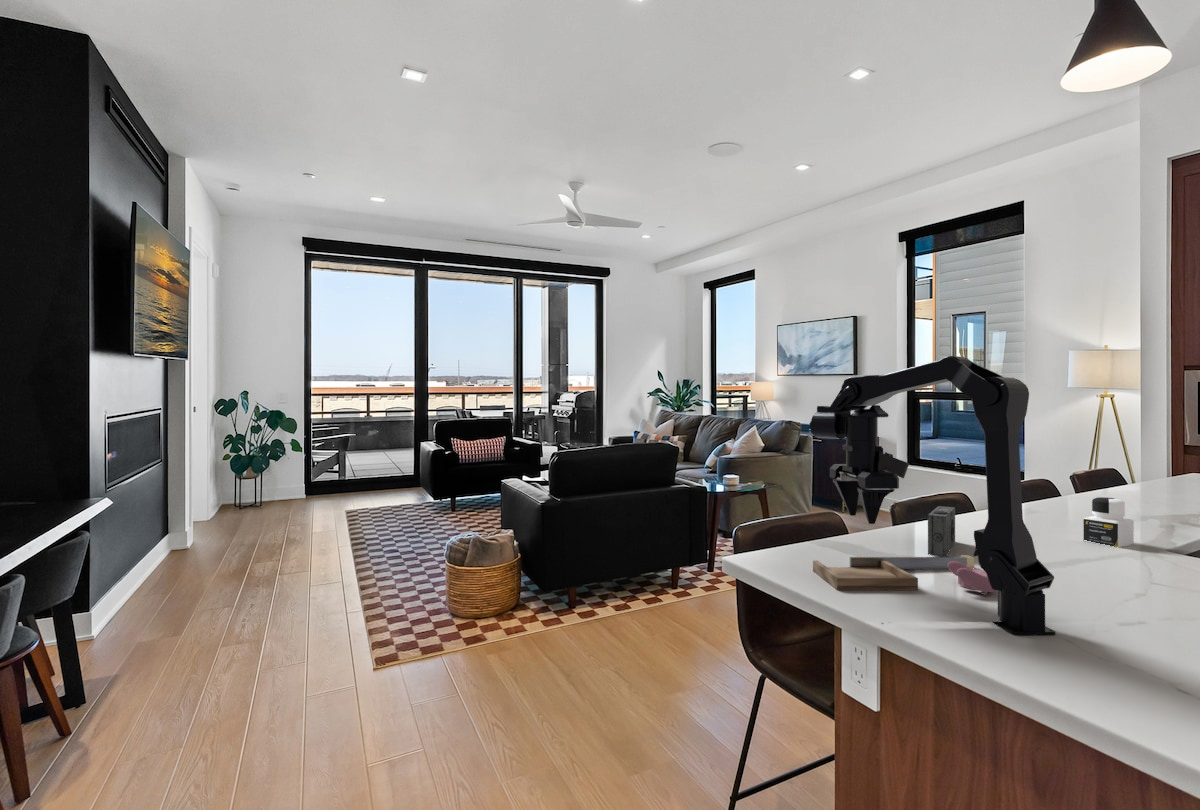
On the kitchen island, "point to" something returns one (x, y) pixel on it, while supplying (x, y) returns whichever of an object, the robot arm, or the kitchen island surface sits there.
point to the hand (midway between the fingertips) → (861, 519)
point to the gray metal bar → (912, 562)
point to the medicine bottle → (1109, 523)
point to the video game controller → (970, 577)
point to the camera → (941, 530)
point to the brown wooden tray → (867, 577)
